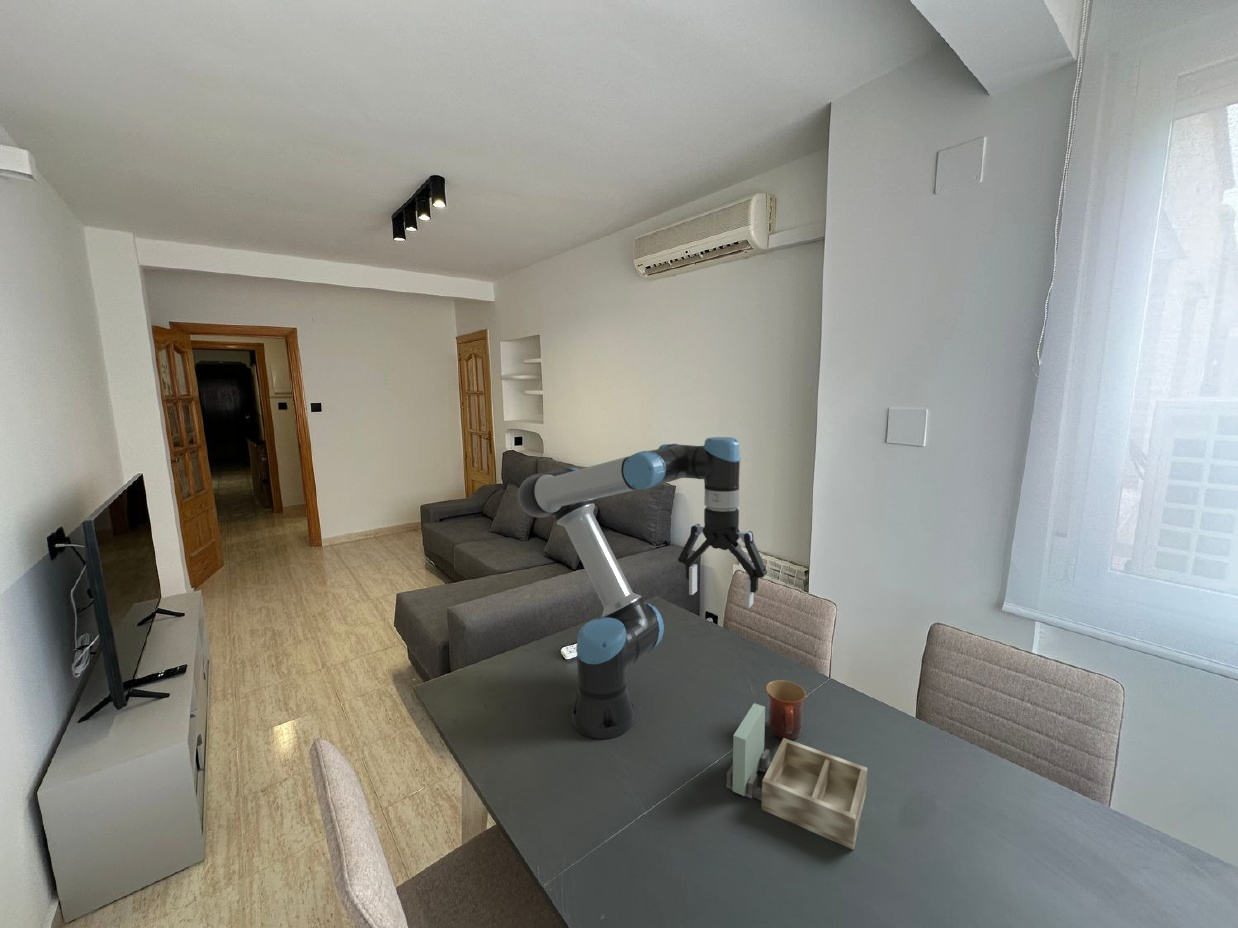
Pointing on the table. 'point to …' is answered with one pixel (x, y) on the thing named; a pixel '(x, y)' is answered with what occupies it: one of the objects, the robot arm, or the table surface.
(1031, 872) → the table surface
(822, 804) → the wooden divided box
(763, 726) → the block
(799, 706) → the mug
